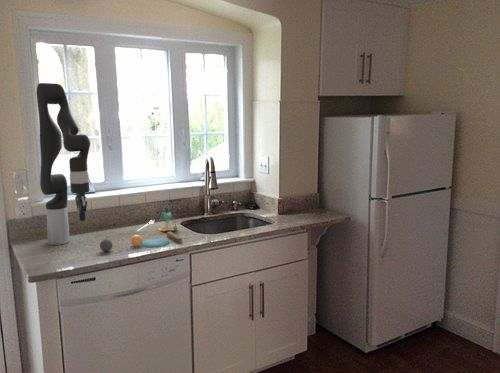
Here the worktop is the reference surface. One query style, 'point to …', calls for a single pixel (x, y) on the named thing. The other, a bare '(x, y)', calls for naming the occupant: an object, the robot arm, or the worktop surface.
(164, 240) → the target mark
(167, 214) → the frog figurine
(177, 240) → the wall
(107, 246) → the dark grey ball
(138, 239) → the object ball
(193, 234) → the worktop surface
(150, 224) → the fork
